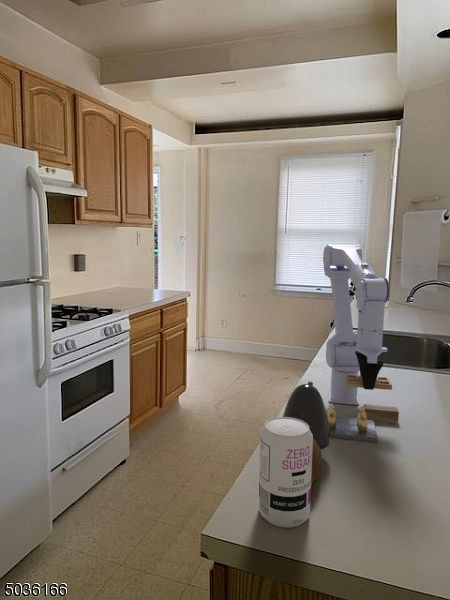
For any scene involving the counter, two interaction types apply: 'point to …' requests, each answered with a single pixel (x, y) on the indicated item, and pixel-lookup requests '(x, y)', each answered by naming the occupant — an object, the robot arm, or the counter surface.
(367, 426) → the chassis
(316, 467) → the potato
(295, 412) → the dark grey tall dome
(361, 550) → the counter surface
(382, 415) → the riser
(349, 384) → the wooden frame
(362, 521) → the counter surface
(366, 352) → the robot arm
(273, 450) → the supplement can
